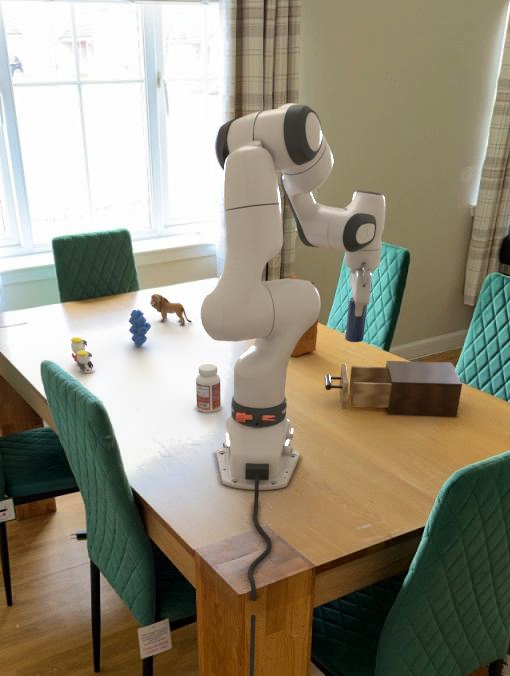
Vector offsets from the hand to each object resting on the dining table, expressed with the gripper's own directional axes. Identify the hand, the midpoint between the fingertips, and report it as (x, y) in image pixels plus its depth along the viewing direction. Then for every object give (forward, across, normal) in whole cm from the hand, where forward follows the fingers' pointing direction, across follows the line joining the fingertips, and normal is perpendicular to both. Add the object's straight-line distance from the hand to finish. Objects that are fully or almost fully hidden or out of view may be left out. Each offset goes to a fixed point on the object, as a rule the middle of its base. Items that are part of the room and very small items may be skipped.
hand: (357, 312), depth 197 cm
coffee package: (+20, +24, +15) cm, 34 cm away
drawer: (+18, -16, -2) cm, 24 cm away
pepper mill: (+8, 0, 0) cm, 8 cm away
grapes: (+20, +24, +63) cm, 70 cm away
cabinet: (+19, -16, -16) cm, 30 cm away
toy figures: (+20, +4, +77) cm, 80 cm away
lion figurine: (+20, +49, +58) cm, 79 cm away
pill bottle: (+19, -22, +38) cm, 48 cm away
